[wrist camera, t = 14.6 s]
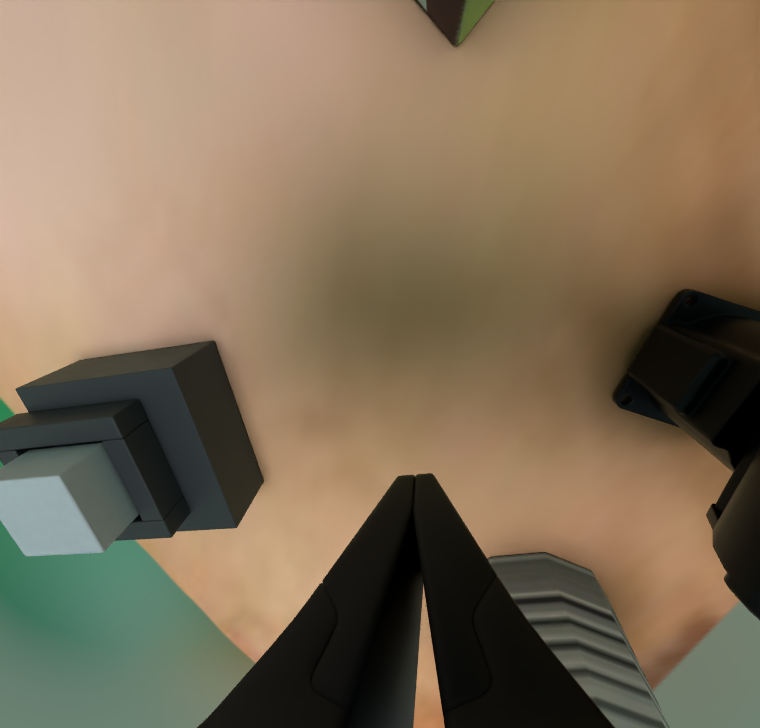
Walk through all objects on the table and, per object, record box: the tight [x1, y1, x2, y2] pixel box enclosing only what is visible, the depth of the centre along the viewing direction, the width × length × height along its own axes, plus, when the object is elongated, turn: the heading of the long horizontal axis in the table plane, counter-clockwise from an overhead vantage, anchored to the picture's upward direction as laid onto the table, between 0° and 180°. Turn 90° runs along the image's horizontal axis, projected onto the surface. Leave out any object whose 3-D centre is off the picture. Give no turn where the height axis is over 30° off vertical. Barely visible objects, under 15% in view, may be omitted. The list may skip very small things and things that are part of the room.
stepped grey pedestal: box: [0, 341, 264, 541], centre depth 21 cm, size 10×10×6 cm
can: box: [488, 552, 670, 728], centre depth 21 cm, size 11×11×12 cm
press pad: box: [0, 443, 139, 556], centre depth 18 cm, size 4×4×2 cm
